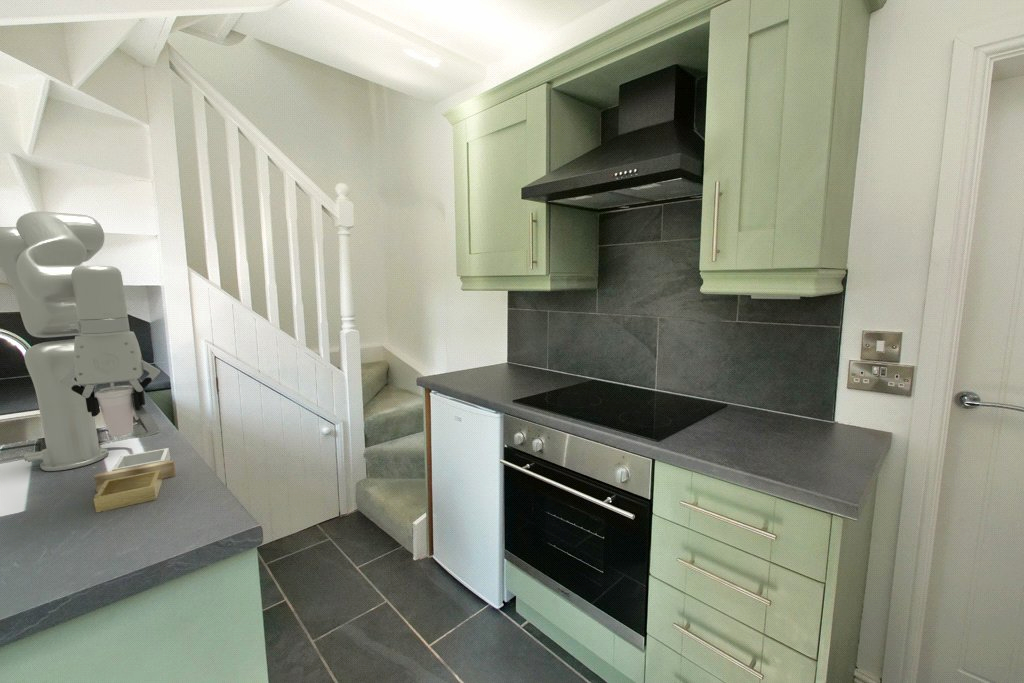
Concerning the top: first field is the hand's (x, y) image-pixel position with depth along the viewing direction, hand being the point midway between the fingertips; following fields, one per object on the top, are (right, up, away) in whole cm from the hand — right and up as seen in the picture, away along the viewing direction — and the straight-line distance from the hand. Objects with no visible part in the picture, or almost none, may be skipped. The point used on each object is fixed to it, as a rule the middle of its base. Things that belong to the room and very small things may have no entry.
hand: (117, 411), depth 93 cm
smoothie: (0, -5, +1) cm, 5 cm away
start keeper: (-8, -17, +16) cm, 25 cm away
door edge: (-4, -18, +10) cm, 21 cm away
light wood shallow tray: (0, -19, +3) cm, 19 cm away
